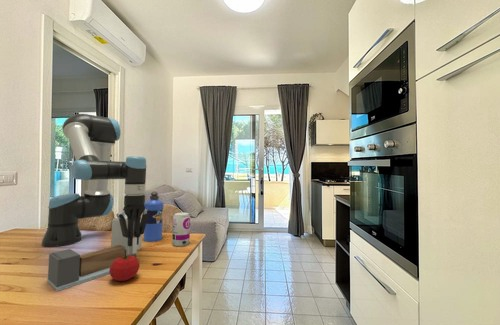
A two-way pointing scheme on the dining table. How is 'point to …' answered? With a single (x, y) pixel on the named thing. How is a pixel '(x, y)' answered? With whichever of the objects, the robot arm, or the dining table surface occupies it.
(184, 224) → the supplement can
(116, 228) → the supplement box
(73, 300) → the dining table surface
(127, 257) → the tomato
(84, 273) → the walnut slat
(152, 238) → the water bottle
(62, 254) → the board
